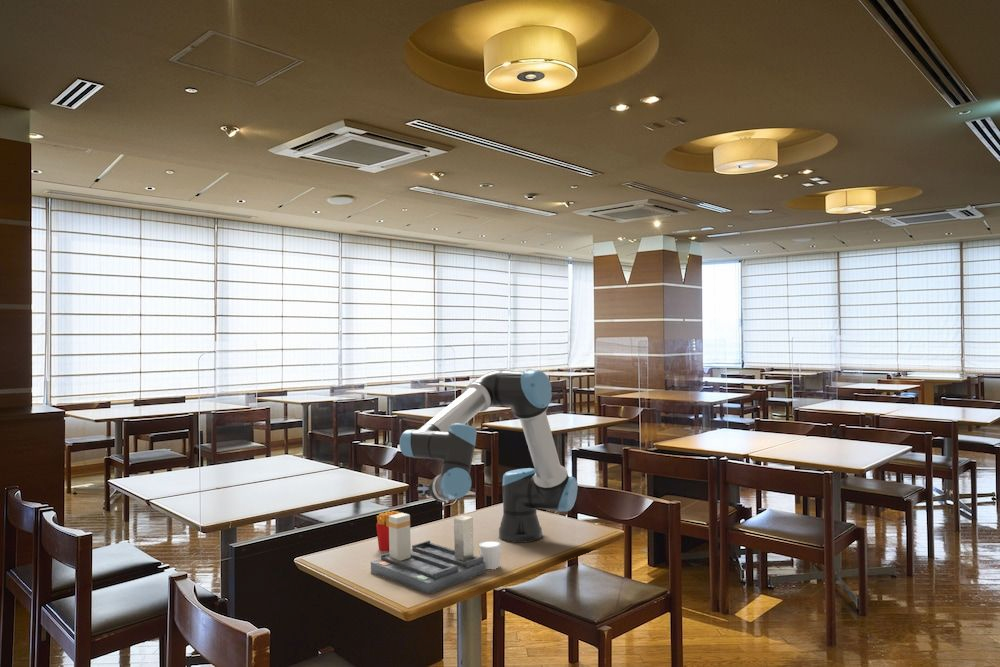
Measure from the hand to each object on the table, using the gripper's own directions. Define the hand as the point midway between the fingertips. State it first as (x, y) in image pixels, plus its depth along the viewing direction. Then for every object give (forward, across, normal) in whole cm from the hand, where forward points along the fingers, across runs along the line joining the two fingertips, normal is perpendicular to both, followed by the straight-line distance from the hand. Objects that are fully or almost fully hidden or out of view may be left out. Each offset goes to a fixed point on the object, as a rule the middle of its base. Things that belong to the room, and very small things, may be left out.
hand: (429, 493), depth 202 cm
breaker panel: (+2, +1, -23) cm, 23 cm away
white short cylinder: (0, +20, -21) cm, 29 cm away
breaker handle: (+7, -7, -19) cm, 21 cm away
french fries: (+29, -7, -16) cm, 34 cm away
